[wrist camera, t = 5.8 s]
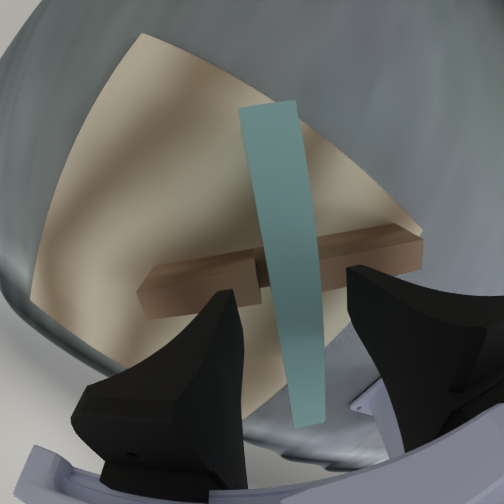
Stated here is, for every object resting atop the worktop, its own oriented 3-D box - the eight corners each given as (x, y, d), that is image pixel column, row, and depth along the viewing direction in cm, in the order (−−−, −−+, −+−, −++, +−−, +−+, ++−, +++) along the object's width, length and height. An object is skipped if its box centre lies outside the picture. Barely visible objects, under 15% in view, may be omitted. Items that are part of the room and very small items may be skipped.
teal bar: (241, 128, 12) (238, 108, 7) (273, 122, 12) (295, 99, 7) (282, 355, 17) (294, 428, 12) (305, 351, 17) (325, 422, 12)
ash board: (418, 227, 15) (423, 230, 14) (242, 414, 20) (242, 420, 20) (145, 36, 11) (142, 32, 10) (33, 296, 16) (30, 299, 16)
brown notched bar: (394, 223, 14) (422, 239, 11) (394, 248, 15) (421, 268, 12) (153, 266, 15) (135, 291, 12) (162, 291, 15) (147, 320, 12)
